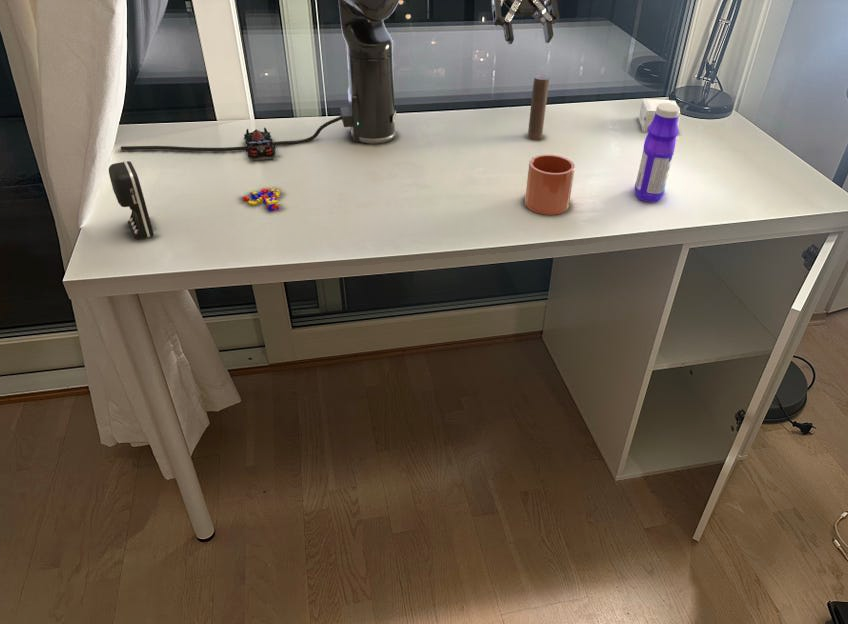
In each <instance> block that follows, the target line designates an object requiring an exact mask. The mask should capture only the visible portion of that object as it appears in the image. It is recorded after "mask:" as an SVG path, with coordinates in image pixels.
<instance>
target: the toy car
mask: <svg viewBox="0 0 848 624" xmlns="http://www.w3.org/2000/svg"><path fill="white" fill-rule="evenodd" d="M243 136H244V137H243V140H244V143H245V145H246V146H247V147H245V150H244V151H245V153H246V154H247V157H248V158H249V159H250V160H251V161H254V160H255V161H260V160H261V161H262V160H269V159H272V160H273V159H274V157H275V156H276V148H277V146H276V145H273V143H272V142H274V141H273V138H272V135H271V132H270V131H268V130H267V128H266V127H265V126H264V128H263V131H260V130H259V129H256V128H255V129H254V130H253V131H252V132H249V129H248V128H246V131H245V133H244V134H243Z"/></svg>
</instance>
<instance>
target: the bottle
mask: <svg viewBox="0 0 848 624" xmlns="http://www.w3.org/2000/svg"><path fill="white" fill-rule="evenodd" d="M679 111H680V112H681V108H680V106H679V105H678V104H677V105H675V104H671V103H660V104H658V105H657V109H656V113H655V116H654V119H653V121H652V123H651V124H650V125H649V126H648V128H647V131H648V132H647V135H646V137H645V139H644V143H643V149H642V155H641V158H640V164H639V167H638V172H637V176H636V181H635V183H634V194H635V196H636V198H637V199H638V200H641V201H645V202H653V203H657V202H659V201H661V199H662V198H663V197H664V195H665V192H666V185H667V180H668V176H669V172H670V167H671V164H672V160H673V156H674V153H675V150H676V145H677V144H676V143H677V137H678V136H679V133H680V130H679V124H678V125H677V121H678V115H679Z"/></svg>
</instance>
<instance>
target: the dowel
mask: <svg viewBox="0 0 848 624" xmlns="http://www.w3.org/2000/svg"><path fill="white" fill-rule="evenodd" d="M549 82H550V77H549V76H548V75H545V74H536V75H534V76H533V82H532V91H531V100H530V101H531V102H530V108H529V109H530V111H529V119H528V120H529V121H528V128H527V138H528V139H530V140H533V141H538V140H541V139H542V138H543V133H544V125H545V117H546V108H547V100H548V92H549V91H548V90H549V84H550V83H549Z"/></svg>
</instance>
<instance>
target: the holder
mask: <svg viewBox="0 0 848 624" xmlns="http://www.w3.org/2000/svg"><path fill="white" fill-rule="evenodd" d="M575 166H576V165H575V163H574V162H573V160H570V159H569V158H567V157H564V156H562V155H556V154H540V155H536V156H533V157H532V158H531V159H529V161H528V170H527V178H526V188H525V197H524V205H525V207H527V209H529V211H532V212H533V213H536V214H540V215H546V216H554V215H555V216H556V215H560V214H563V213H565V212H567V211H568V209H569V206H570V201H571V194H572V188H573V182H574V175H575V168H576V167H575Z"/></svg>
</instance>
